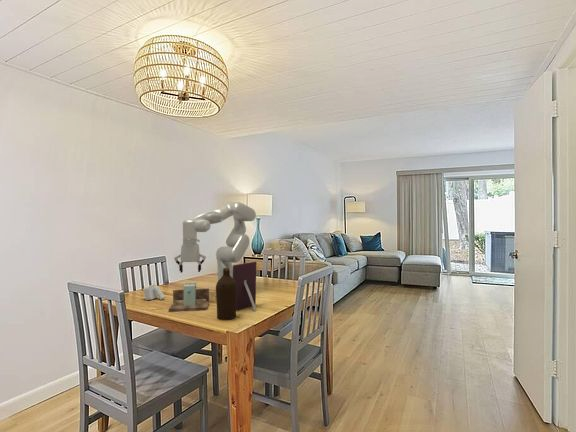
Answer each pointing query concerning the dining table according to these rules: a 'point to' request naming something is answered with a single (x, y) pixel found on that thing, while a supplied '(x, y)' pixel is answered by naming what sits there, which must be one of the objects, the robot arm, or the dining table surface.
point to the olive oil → (226, 296)
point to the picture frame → (245, 285)
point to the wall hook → (153, 292)
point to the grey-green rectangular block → (189, 294)
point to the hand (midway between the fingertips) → (190, 271)
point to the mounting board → (201, 304)
